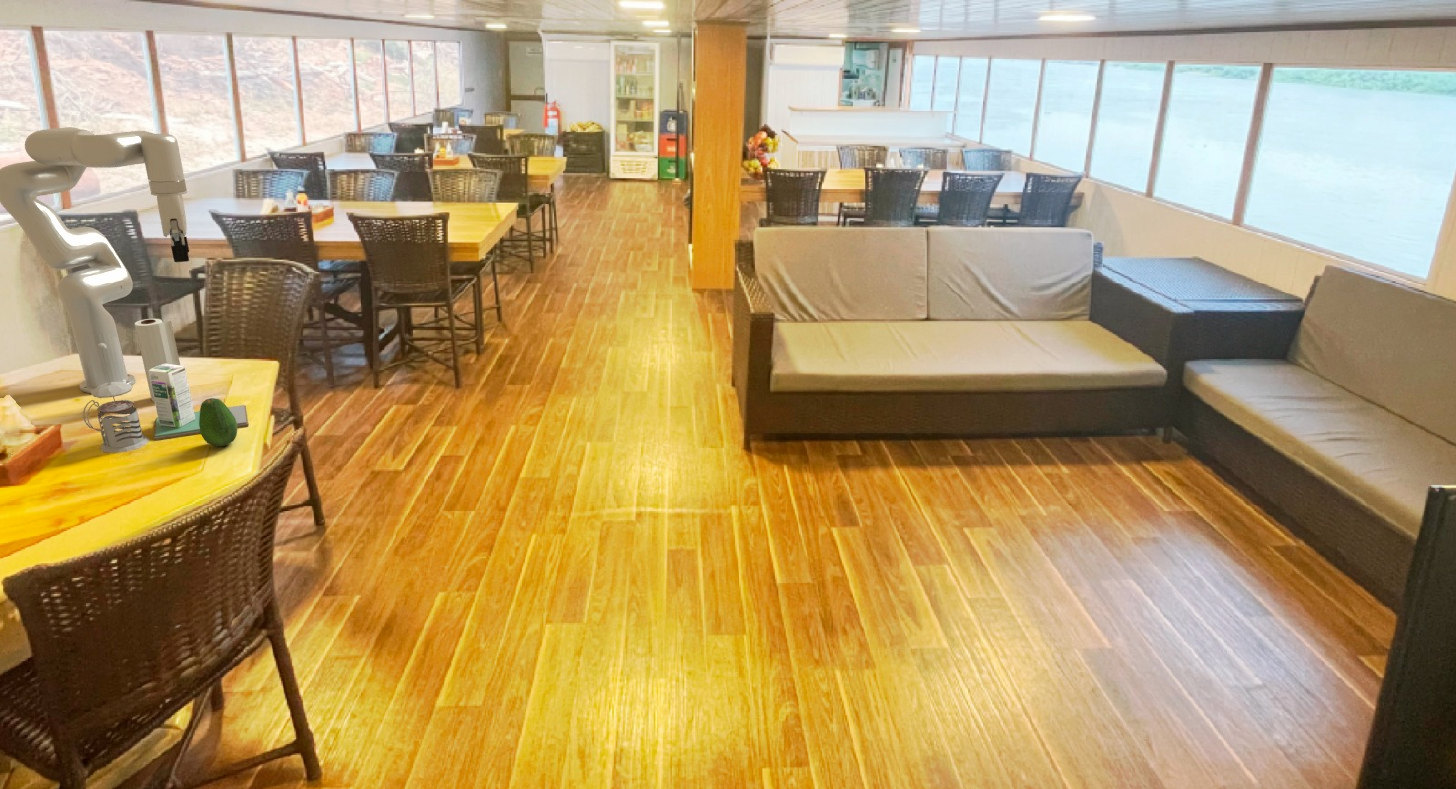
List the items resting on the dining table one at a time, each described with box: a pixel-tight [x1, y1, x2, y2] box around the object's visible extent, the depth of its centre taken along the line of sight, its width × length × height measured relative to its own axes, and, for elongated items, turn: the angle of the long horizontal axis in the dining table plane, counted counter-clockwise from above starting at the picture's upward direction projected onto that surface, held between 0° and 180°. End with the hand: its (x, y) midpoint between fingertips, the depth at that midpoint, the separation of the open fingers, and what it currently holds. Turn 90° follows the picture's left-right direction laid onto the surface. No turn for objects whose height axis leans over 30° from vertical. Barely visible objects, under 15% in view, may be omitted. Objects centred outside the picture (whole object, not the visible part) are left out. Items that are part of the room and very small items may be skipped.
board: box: [153, 404, 249, 441], centre depth 225 cm, size 13×20×1 cm, turn 119°
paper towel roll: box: [134, 318, 181, 403], centre depth 234 cm, size 7×6×21 cm
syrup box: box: [148, 364, 195, 428], centre depth 220 cm, size 6×6×14 cm
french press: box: [82, 343, 150, 454], centre depth 208 cm, size 10×12×25 cm
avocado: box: [199, 397, 239, 447], centre depth 212 cm, size 8×8×12 cm
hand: (182, 257), depth 224 cm, fingers open, 9 cm apart
